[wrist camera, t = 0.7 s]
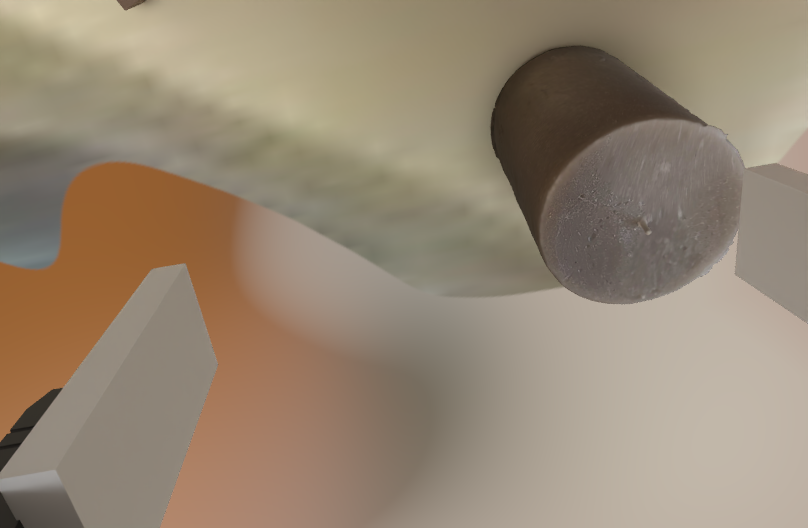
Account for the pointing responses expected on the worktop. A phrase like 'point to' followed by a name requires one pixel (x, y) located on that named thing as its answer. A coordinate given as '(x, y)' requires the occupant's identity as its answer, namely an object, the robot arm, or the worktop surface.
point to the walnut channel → (129, 3)
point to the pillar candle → (615, 176)
